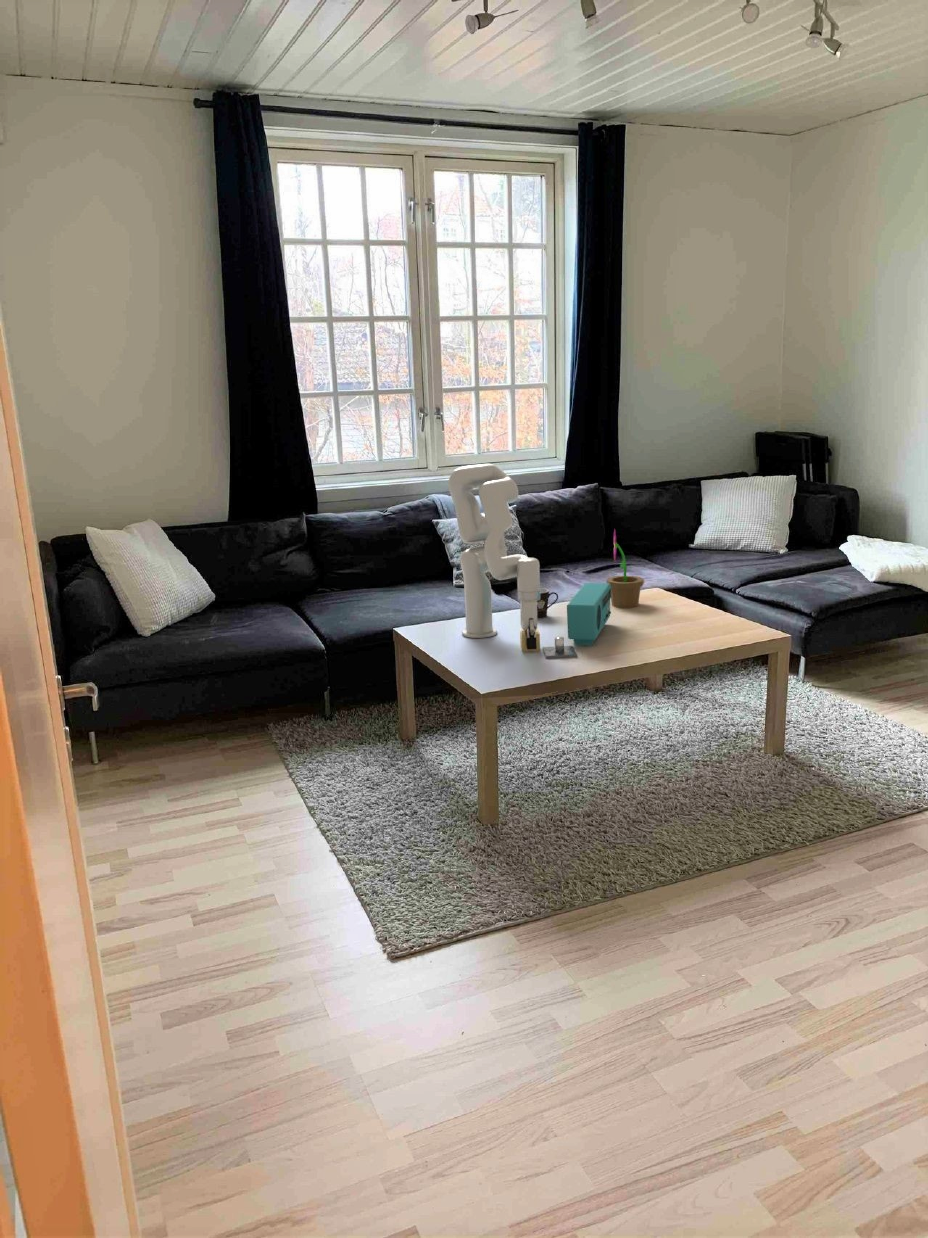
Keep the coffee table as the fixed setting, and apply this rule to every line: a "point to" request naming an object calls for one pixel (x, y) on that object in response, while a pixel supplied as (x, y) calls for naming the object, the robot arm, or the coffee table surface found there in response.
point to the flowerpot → (624, 585)
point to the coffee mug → (544, 602)
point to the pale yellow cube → (524, 641)
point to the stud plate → (560, 654)
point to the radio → (588, 612)
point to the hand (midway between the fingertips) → (530, 645)
